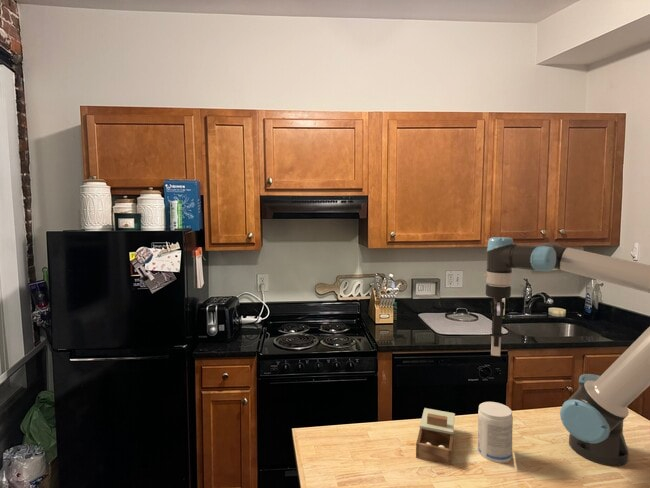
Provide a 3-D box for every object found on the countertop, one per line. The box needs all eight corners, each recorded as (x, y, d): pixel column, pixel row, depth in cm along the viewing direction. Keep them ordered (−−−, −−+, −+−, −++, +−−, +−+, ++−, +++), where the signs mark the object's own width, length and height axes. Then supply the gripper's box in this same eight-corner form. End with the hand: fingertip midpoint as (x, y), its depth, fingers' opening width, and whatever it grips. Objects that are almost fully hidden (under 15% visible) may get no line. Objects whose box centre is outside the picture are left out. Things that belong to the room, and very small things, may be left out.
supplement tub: (518, 458, 118) (520, 411, 117) (499, 469, 113) (501, 420, 111) (488, 442, 126) (490, 398, 125) (470, 452, 121) (472, 406, 119)
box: (453, 444, 124) (453, 429, 124) (451, 468, 113) (451, 450, 113) (420, 438, 128) (421, 423, 127) (415, 460, 117) (416, 443, 116)
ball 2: (446, 452, 119) (446, 444, 119) (445, 457, 117) (445, 449, 116) (437, 450, 120) (437, 442, 120) (436, 455, 118) (436, 447, 117)
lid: (454, 415, 132) (455, 406, 131) (453, 434, 120) (453, 424, 120) (424, 410, 135) (424, 400, 135) (419, 428, 124) (420, 418, 124)
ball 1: (432, 449, 120) (432, 441, 120) (431, 454, 118) (432, 446, 118) (424, 447, 121) (424, 439, 121) (423, 452, 119) (423, 444, 119)
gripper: (485, 280, 135) (482, 347, 137) (486, 287, 123) (483, 360, 125) (509, 282, 133) (506, 349, 135) (512, 289, 121) (509, 363, 123)
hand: (495, 354), depth 130 cm, fingers closed
